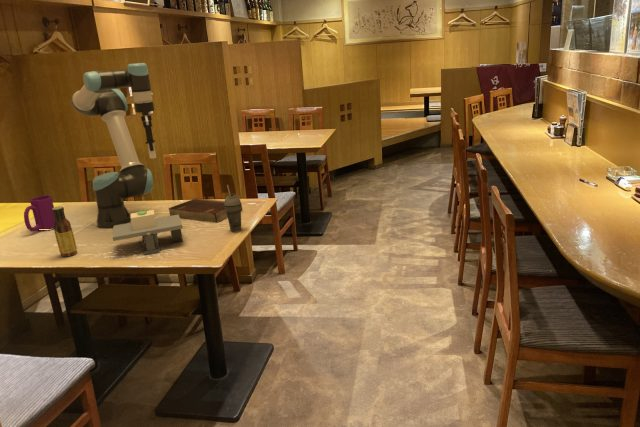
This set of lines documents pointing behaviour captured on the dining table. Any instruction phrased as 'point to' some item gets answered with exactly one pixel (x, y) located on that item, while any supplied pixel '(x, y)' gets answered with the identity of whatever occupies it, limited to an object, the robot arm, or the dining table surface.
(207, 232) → the dining table surface
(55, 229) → the sauce bottle
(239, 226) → the beverage cup
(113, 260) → the dining table surface
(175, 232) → the pivot stand
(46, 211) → the mug
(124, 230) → the instrument plate
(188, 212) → the hardback book
